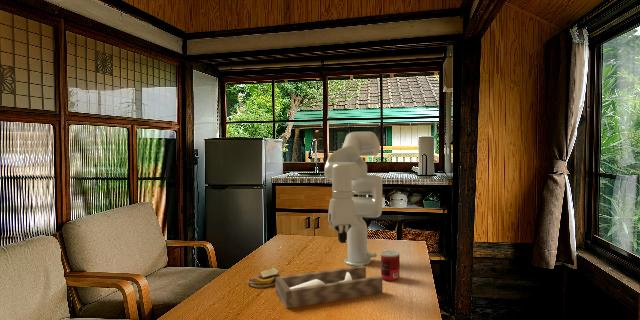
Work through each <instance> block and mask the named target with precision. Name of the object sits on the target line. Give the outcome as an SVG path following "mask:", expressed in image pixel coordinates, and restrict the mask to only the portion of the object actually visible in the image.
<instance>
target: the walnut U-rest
mask: <svg viewBox="0 0 640 320" xmlns="http://www.w3.org/2000/svg"><path fill="white" fill-rule="evenodd" d="M347 272H349V273H350V275H351V278H352V280H349V281H344V280H345V276H346V273H347ZM315 279H318V280H320V281H322V282H323V283H324V284H321V285H315V286H308V287H301V288H294V289H290V288H291V287H294V286H297V285H300V284H303V283H306V282H309V281H312V280H315ZM340 281H342V282H340ZM275 294H276V295H277V297H278V298H279V300H280V301H281V303H282V304H283V306H284V307H285V309H286V310H287V309H291V308H298V307H305V306H311V305H318V304H323V303H330V302H336V301H341V300H342V301H343V300H348V299H355V298H359V297H360V298H362V297H365V296H366V297H367V296H372V295H373V296H375V295H379V294H383V279H382V277H381V275H378V276H371V277H367V267H366V265H363V266H351V267H344V268H337V269H330V270H329V269H328V270H321V271H320V270H319V271H314V272H306V273H299V274H298V273H297V274H289V275H283V276H280V277H275Z"/></svg>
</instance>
